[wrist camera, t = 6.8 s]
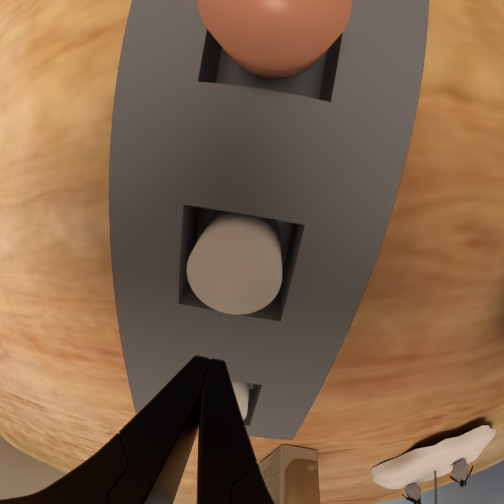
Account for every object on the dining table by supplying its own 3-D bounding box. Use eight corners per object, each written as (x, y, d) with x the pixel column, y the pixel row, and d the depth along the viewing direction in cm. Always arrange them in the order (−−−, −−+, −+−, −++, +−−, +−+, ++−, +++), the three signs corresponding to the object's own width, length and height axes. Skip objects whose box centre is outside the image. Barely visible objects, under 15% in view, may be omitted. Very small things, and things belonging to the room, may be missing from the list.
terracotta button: (318, 87, 10) (341, 75, 6) (214, 71, 10) (185, 52, 6) (333, 0, 8) (357, -42, 5) (231, -15, 8) (212, -62, 5)
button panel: (291, 400, 23) (292, 439, 19) (150, 375, 23) (135, 411, 19) (396, 16, 11) (429, -5, 7) (173, -19, 11) (146, -48, 7)
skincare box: (290, 468, 30) (288, 554, 19) (258, 462, 29) (251, 552, 18) (319, 448, 27) (324, 547, 16) (284, 441, 27) (281, 547, 16)
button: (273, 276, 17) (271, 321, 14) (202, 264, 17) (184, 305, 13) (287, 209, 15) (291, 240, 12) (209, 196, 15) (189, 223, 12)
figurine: (489, 404, 23) (515, 522, 9) (497, 438, 28) (512, 518, 14) (346, 464, 31) (342, 569, 17) (392, 482, 37) (394, 558, 23)
